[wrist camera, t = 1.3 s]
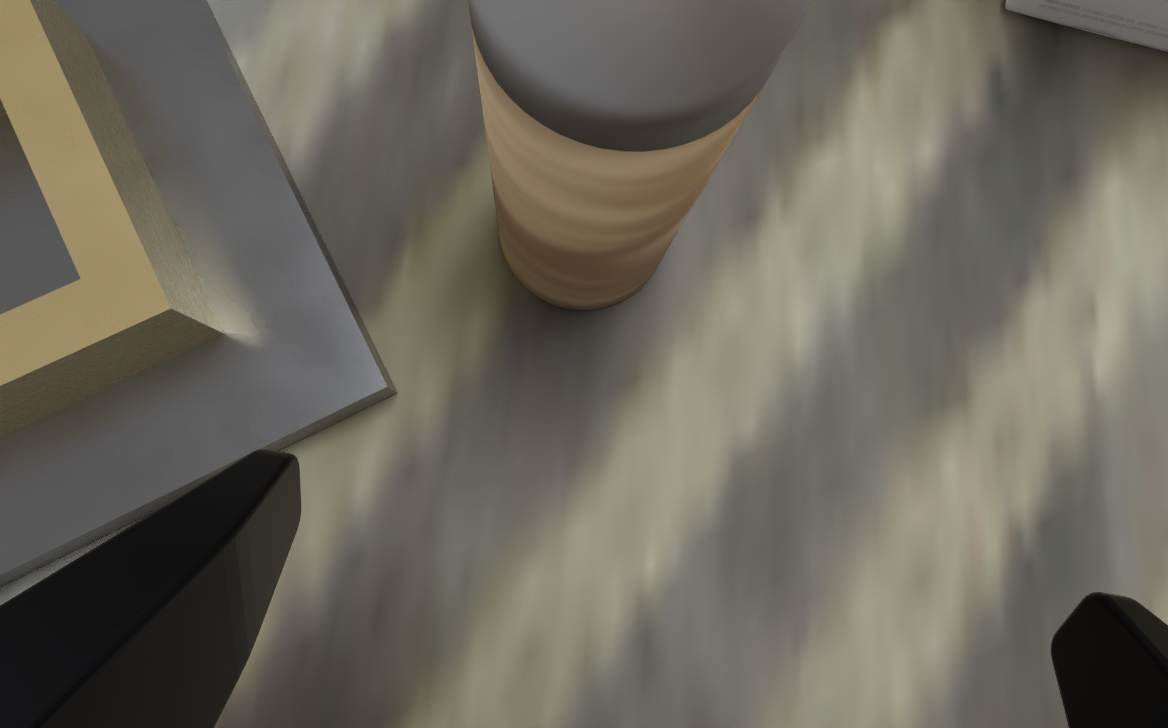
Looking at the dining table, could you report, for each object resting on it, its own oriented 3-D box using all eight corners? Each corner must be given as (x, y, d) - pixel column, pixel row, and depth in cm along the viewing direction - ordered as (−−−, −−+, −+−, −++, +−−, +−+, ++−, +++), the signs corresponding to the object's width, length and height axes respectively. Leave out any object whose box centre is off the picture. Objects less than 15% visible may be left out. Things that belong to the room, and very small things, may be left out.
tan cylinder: (545, 338, 22) (563, 163, 10) (470, 192, 23) (397, -150, 10) (694, 265, 23) (885, 15, 10) (617, 124, 23) (713, -273, 11)
